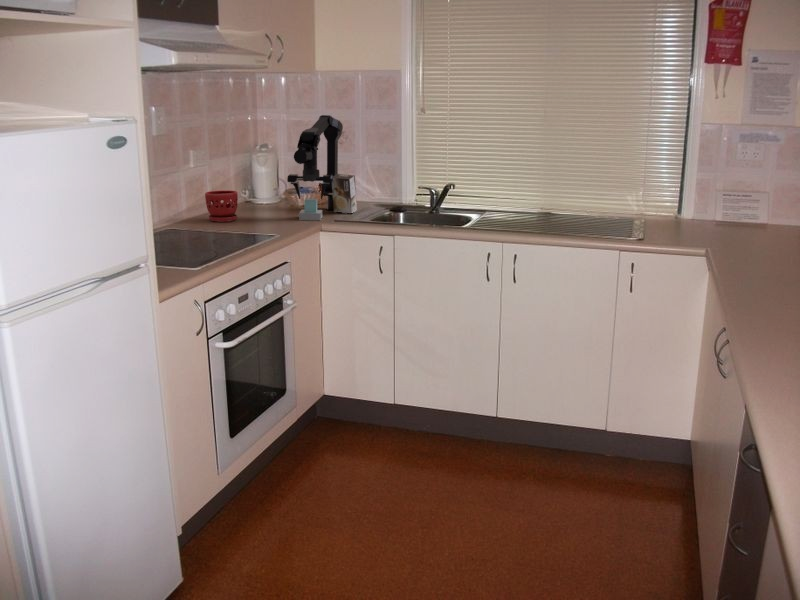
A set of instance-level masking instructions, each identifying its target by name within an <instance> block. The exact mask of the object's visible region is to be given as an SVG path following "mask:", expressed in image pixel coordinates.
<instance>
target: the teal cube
mask: <svg viewBox="0 0 800 600" xmlns="http://www.w3.org/2000/svg"><path fill="white" fill-rule="evenodd" d="M303 203H304V207H303V208H304V209H303V210H304V212H310V213H316V212H317V210H318V198H305V199H304V201H303Z"/></svg>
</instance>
